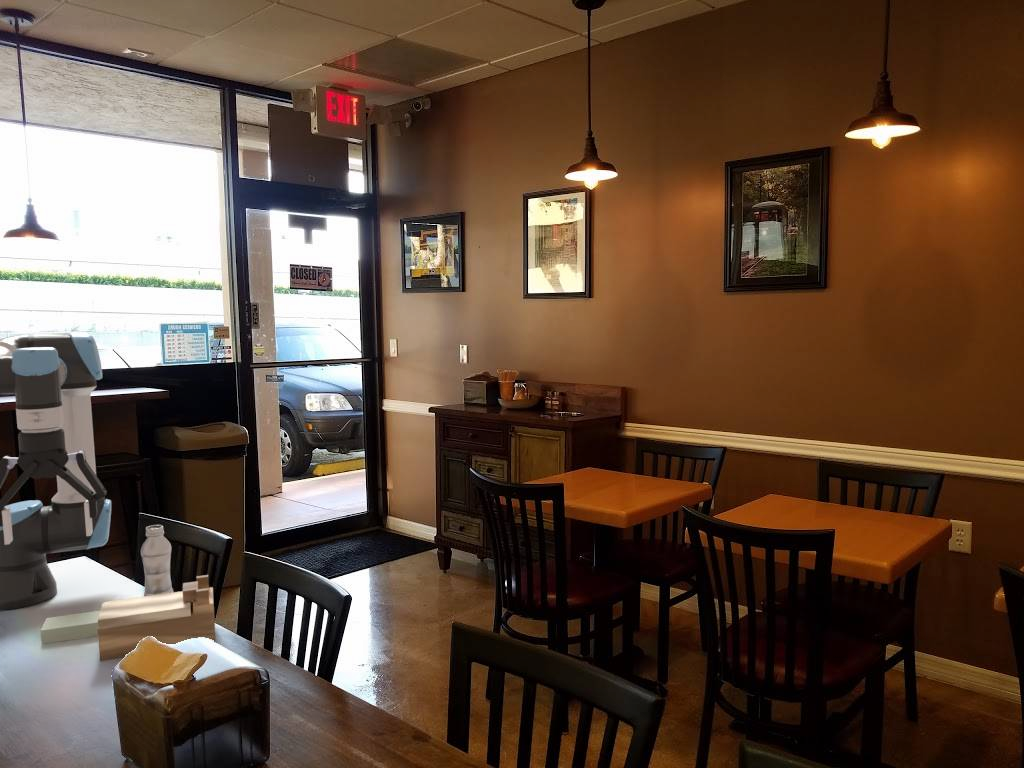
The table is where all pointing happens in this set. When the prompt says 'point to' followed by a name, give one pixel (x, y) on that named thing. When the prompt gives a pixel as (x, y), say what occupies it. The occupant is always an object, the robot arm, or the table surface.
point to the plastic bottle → (156, 561)
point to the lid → (143, 610)
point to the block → (190, 591)
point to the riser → (70, 627)
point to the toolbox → (163, 627)
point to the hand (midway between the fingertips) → (49, 538)
